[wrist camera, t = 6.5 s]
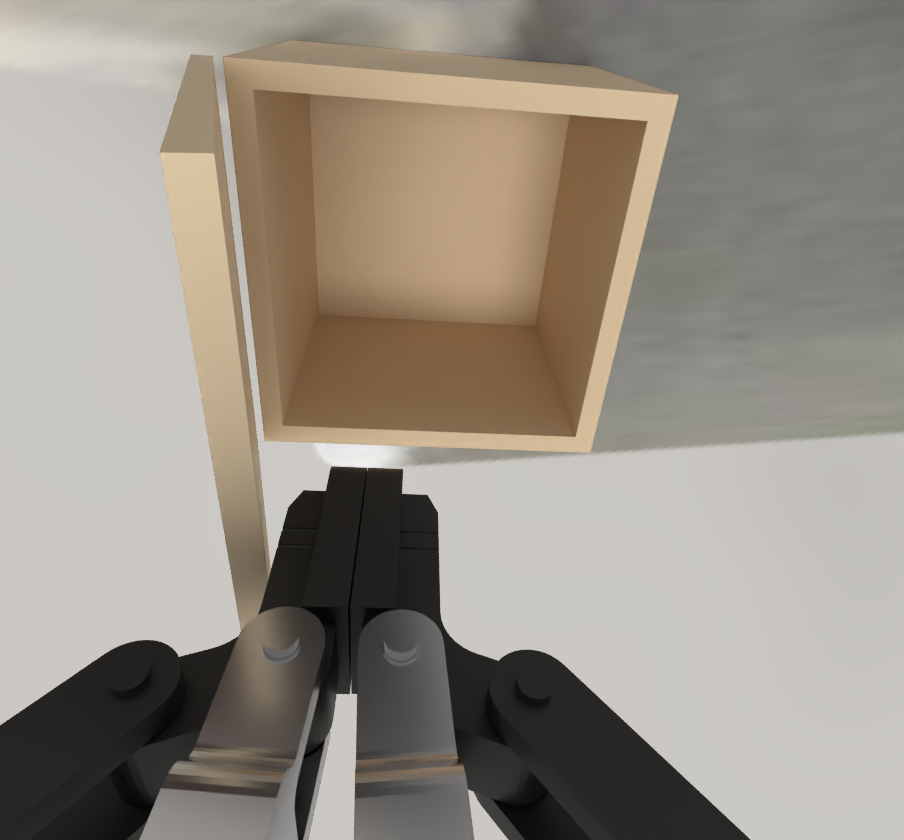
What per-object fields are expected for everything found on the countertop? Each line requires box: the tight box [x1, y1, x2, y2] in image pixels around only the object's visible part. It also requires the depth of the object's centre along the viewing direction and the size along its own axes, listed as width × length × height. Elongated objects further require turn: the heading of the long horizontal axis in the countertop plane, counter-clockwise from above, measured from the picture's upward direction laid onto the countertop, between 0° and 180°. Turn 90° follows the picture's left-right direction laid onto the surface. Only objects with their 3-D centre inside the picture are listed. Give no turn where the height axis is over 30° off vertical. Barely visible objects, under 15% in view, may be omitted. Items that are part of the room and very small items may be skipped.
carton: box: [223, 40, 679, 453], centre depth 28 cm, size 14×14×12 cm
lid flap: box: [160, 55, 271, 631], centre depth 17 cm, size 14×14×1 cm
